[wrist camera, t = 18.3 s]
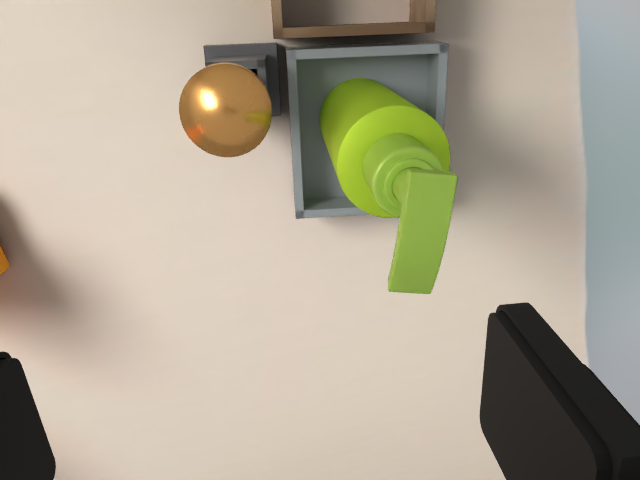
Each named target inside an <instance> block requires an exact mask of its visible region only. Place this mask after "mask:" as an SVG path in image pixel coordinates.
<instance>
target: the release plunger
mask: <svg viewBox="0 0 640 480" xmlns="http://www.w3.org/2000/svg"><path fill="white" fill-rule="evenodd" d="M179 113H180V119H181V122H182V125H183V128H184V130H185V132H186V133H187V135H188V136H189V138H190V139H191V140H192V141H193V142H194V143H195V144H196V145H197V146H198V147H199V148H201V149H202V150H204V151H206V152H208V153H210V154H213V155H216V156H221V157H235V156H240V155H243V154H246V153H248V152H250V151H251V150H253V149H254V148H256V147H257V146H258V145H259V144H260V143H261V142H262V140H263V139H264V137H265V136H266V134H267V132H268V129H269V127H270V123H271V115H272V104H271V99H270V95H269V92H268V90H267V88H266V86H265V85H264V83H263V82H262V80H261V79H260V78H259V77H258V76H257V72H256V69H248V68H246V67H244V66H241V65H238V64H235V63H226V62H223V63H216V64H212V65H209V66H207V67H205V68H203V69H202V70H200V71H199V72H197V73H196V74H195V75H193V76H192V77H191V79H190V80H189V81H188V82H187V84H186V85H185V87H184V89H183V91H182V94H181V97H180V103H179Z"/></svg>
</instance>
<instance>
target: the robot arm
mask: <svg viewBox="0 0 640 480" xmlns="http://www.w3.org/2000/svg"><path fill="white" fill-rule="evenodd" d="M480 423H481V428H482V431H483V433H484V436H485V438H486V440H487V442H488V444H489V446H490V448H491V450H492V452H493V454H494V456H495V458H496V460H497V462H498V464H499V466H500V468H501V470H502V472H503V474H504V476H505V478H506V480H640V425H639V424H638V423H637V422H636V421H635V420H634V418H633V417H632V416H631V415H630V414H629V413H628V412H627V411H626V409H625V408H624V407H623V406H622V405H621V404H620V403H619V402H618V400H617V399H616V398H615V397H614V396H613V395H612V394H611V392H610V391H609V390H608V389H607V388H606V387H605V386H604V384H603V383H602V382H601V381H600V380H599V379H598V378H597V377H596V375H595V374H594V373H593V372H592V371H591V370H590V369H589V368H588V367H587V366H586V365H584V364H582V363H581V361H580V360H579V359H578V358H577V357H576V356H575V355H574V353H573V352H572V351H571V350H570V349H569V348H568V347H567V345H566V344H565V343H564V342H563V341H562V340H561V339H560V337H559V336H558V335H557V334H556V333H555V332H554V331H553V329H552V328H551V327H550V326H549V325H548V324H547V323H546V321H545V320H544V319H543V318H542V317H541V316H540V314H539V313H538V312H537V311H536V310H535V309H534V308H533V306H532V305H530V304H529V303H516V304H505V305H500V306H498V308H497V310H496V313H491V314H490V315H489V318H488V327H487V338H486V349H485V361H484V372H483V384H482V395H481V406H480ZM55 469H56V465H55V459H54V456H53V453H52V450H51V447H50V444H49V442H48V439H47V436H46V433H45V430H44V427H43V425H42V422H41V419H40V416H39V413H38V410H37V408H36V405H35V402H34V399H33V396H32V393H31V391H30V388H29V385H28V382H27V379H26V376H25V374H24V371H23V368H22V365H21V363H20V361H19V360H18V359H16V358H11V356H10V355H9V354H8V353H7V352H0V480H53V479H54V476H55Z"/></svg>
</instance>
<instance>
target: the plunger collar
mask: <svg viewBox="0 0 640 480" xmlns="http://www.w3.org/2000/svg"><path fill="white" fill-rule="evenodd" d="M204 54H205V66H206V67H207V66H209V65H212V64H216V63H223V62H226V63H235V64H238V65H241V66H244V67H246V68H248V69H256V72H257V76H258V77H259V78H260V79H261V80H262V82H263V83H264V85H265V86H266V88H267V90H268V92H269V95H270V99H271V104H272V115H271V116H281V108H280V92H279V77H278V61H277V46H276V43H253V44H229V45H205V46H204Z"/></svg>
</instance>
